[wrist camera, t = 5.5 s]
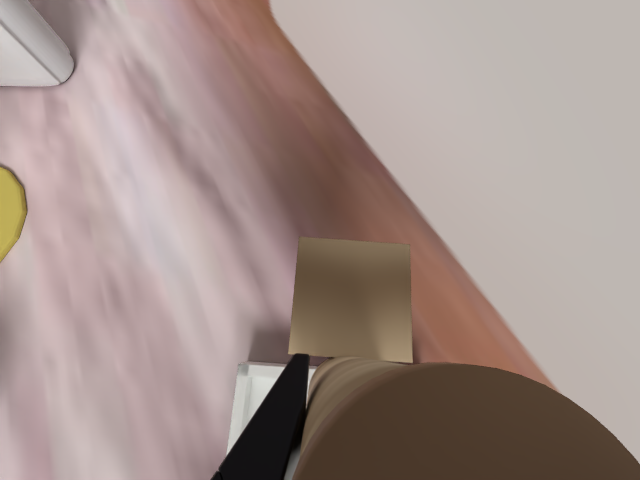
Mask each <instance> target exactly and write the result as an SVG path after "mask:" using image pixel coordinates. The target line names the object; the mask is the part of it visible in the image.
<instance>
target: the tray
mask: <svg viewBox="0 0 640 480" xmlns="http://www.w3.org/2000/svg"><path fill="white" fill-rule="evenodd" d="M286 365H287V364H279V363H265V362H251V361H246V362H243V363H240V364H239V365H238V372H237V379H236V387H235V394H234V402H233V409H232V417H231V424H230V431H229V439H228V446H227V454H228V453H229V451H230V450H231V448H232V447H233V445H234V444H235V442H236V441H237V439H238V438H239V436H240V435H241V433H242V432H243V430H244V429H245V427H246V426H247V424H248V423H249V421H250V419H251V418H252V416H253V415H254V413H255V412H256V410H257V409H258V407H259V406H260V404H261V403H262V401H263V400H264V398H265V397H266V395H267V394H268V392H269V391H270V389H271V388H272V386H273V385H274V383H275V382H276V380H277V379H278V377H279V376H280V374H281V373H282V371H283V370H284V368H285V366H286ZM317 367H318V366H309V375H308V389H309V383H310V380H311V377H312V375H313V373H314V371H315V370H316V369H317ZM308 389H307V397H308ZM306 404H307V402H306ZM227 454H226V456H227Z"/></svg>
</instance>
